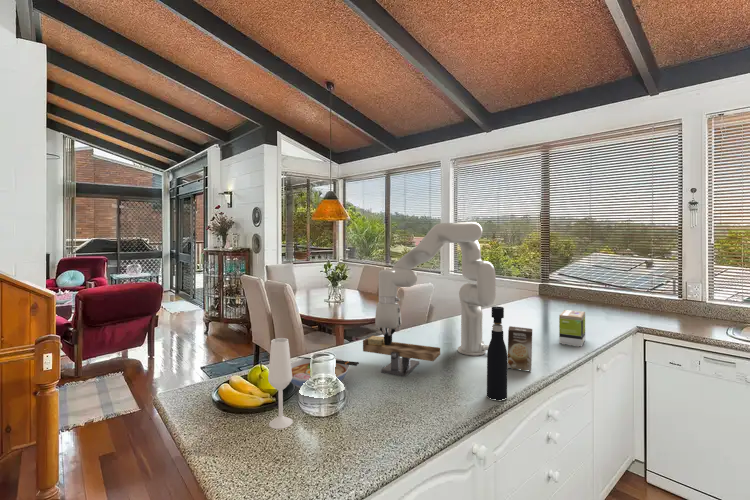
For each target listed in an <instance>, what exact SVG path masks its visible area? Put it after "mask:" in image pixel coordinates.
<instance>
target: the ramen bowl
mask: <svg viewBox="0 0 750 500" xmlns="http://www.w3.org/2000/svg"><path fill="white" fill-rule="evenodd" d="M296 358H297V359H298V358H299V359H298V360H296V361H291V369H292V380H291V382H290V383H292V385H293V386H295V387H296V388H298V389H300V387H301V386H302V385H303V383H305V382H306V381H307V380H309V378H310V359H311V358H312V357H305V356H304V357H303V356H297V357H296ZM334 358H335V359H336V367H335V374H336V377H337V378H338V379H339V380H340V381H341V382H342V381H343V379H344V378H345V376H346V375H347V373H348V372H349V369H350V366H354V367H357V366H358V365H359V364H360V362H359V361H349V360H343V359H339V358H336V357H334Z"/></svg>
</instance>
